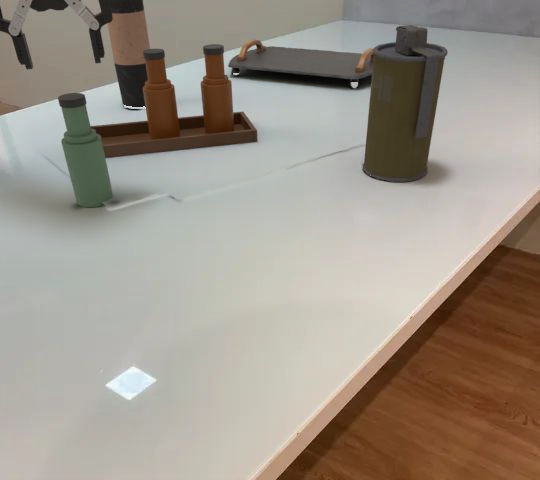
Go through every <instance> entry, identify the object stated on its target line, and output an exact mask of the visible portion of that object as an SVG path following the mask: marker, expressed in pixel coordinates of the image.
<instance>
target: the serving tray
mask: <svg viewBox="0 0 540 480" xmlns="http://www.w3.org/2000/svg"><path fill="white" fill-rule="evenodd" d="M254 46H256V48H254V49H251V48H252V47H254ZM373 49H374V47H372V48H367V49H366V50H364V52H362V53H359V52H350V51H349V52H348V51H344V52H343V51H335V50H324V49H323V50H322V49H311V48H297V47H284V46H274V45H273V46H272V45H271V46H266V45H263V42H261V40H260V39H257V38H255V39H250V40H248V41H246V42H245V43H244V44H243V45H242V46H241V49H240V52H239V54H236V55H235V56H233V57H232V58H231V59H230V60H229V62H228V64H227V67H228V68H231V70H230V72H231V74H232V73H239V72H240V73H241V70H242V69H243V70H254V71H263V72H274V73H285V74H294V75H302V76H312V77H313V76H314V77H315V76H316V77H324V78H334V79H335V78H336V79H343V80H350V81H351V82H358V81H359V82H360V80H359V79H364V78H367V77H370V76H372V71H373V60H374V54H373ZM234 77H237V76H234Z"/></svg>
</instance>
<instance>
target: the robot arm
mask: <svg viewBox="0 0 540 480" xmlns="http://www.w3.org/2000/svg"><path fill="white" fill-rule="evenodd" d="M98 3H99V8H100V12H98V13H96V14H94V13H93V11H92V10H91V9H90V8H89V7H88V6H87V5H86V3H85V2H84V1H83V0H18V1H17V5H16V6H15V10H14V13H13V15H12V17H11V20H9V19H7V18H4V16H3V12H2V7H1V6H0V32H1V33H5V34H7V35H9V36H10V37H11V40H12V44H13V47H14V51H15V54H16V59H17V61H18V62H19V65H24V67H25V69H26V70H27V71H28V70H33V68H34V63H33V60H32V56H31V52H30V48H29V46H28V41H27V37H26V34H25V32H24V33H23V29H22V28H23V25H24V23H25V21H26V17H28V14H29V10H30V9H32V10H33V11H36V12H37V13H41V12H43V13H44V12H46V11H49V10H53V11H65V10H66V9H67V8H68V7H69V8H71V9H72V11H74V13H75V14H76V15H77V16H79V17H80V18H81V20H83V22H84V23H85V24H87V26H88V27H89V28H88V34H89V39H90V44H91V48H92V54H93V58H94V62H95V63H94V64H101V63H102V59H104V58H105V54H106V52H105V47H104V42H103V36H102V32H101V31H102V28H103V26H105V25H108V24H107V23H110V22H112V20H113V16H112V12H111V8H110V3H109V0H98Z"/></svg>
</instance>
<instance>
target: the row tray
mask: <svg viewBox="0 0 540 480" xmlns="http://www.w3.org/2000/svg"><path fill="white" fill-rule="evenodd" d="M233 117H234V131H231V132H221V133H211V134H205V127H204V116H203V114H202V115H192V116H181V117H180V116H179V117H178V121H179V129H180V137H172V138H162V139H152V140H151V139H150V133H149V126H148V120H140V121H139V120H138V121H129V122H118V123H108V124H97V125H90V127H91V128H92V129H95V130H96V133H97V134H99V135H100V136H101V140H102V144H103V149H104V154H105V159H111V158H121V157H129V156H130V157H131V156H138V155H147V154H159V153H167V152H175V151H186V150H195V149H204V148H205V149H206V148H214V147H223V146H231V145H242V144H243V145H244V144H252V143H258V130H257V128H256V127H255V125H254V124H253V122H251V120H250V118H249V117H248V116H247V114H246V113H245V112H244V111H233Z"/></svg>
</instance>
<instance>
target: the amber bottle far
mask: <svg viewBox="0 0 540 480" xmlns="http://www.w3.org/2000/svg"><path fill="white" fill-rule="evenodd" d="M202 53H203V55H204V65H205V75H203V77H202V80H201V81H200V92H201V94H200V95H201V103H202V115H203V116H204V127H205V134H211V133H221V132H231V131H234V117H233V112H234V102H233V86H232V85H233V84H232V80H231V79H229V75H227V74H225V59H224V53H225V46H224V45H223V44H219V43H212V44H205V45H203V46H202Z"/></svg>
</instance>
